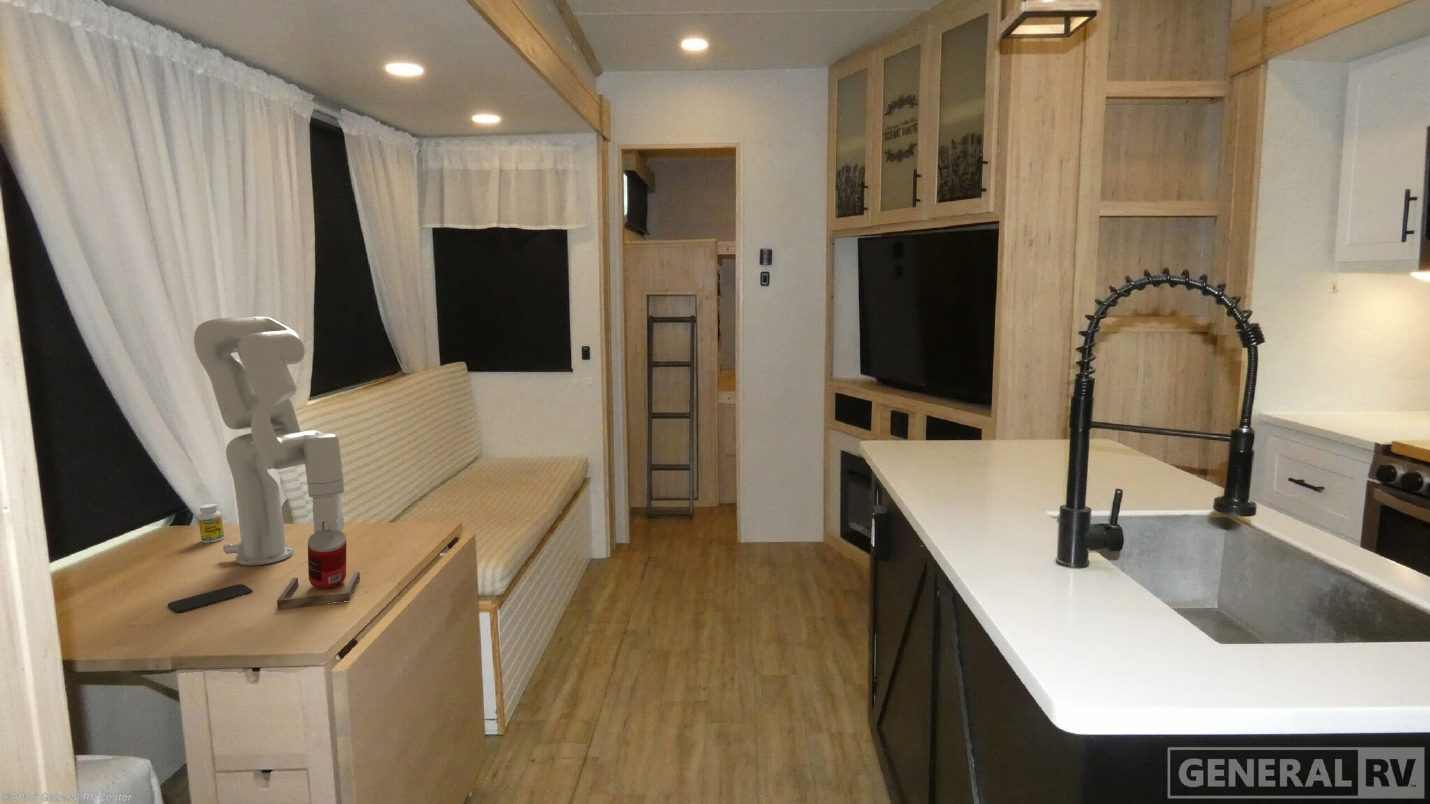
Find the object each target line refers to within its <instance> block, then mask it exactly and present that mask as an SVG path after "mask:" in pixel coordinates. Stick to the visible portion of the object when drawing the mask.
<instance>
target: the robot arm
mask: <svg viewBox="0 0 1430 804" xmlns="http://www.w3.org/2000/svg"><path fill="white" fill-rule="evenodd" d="M193 346H194V350H195V353H196V356H197V359H198V361H199V362H200V364H201V366H202V367H203V368H204V371H205V372H206V374H207V376H208V377H209V380H210V382H211V386H212V389H213V392H214V396H215V399H216V403H217V406H218V409H219V411H220V413H219V414H220V415H221V418H222V421H223V423H224V425H225V426H226V427H227V428H228V429H231V430H236V431H237V430H247V429H250V432H251V433H250V432H249V433H244V434H241V435H238V436H236V437H235V438H232V439H231V440H230V441H229V442H228V443H227V444H226V448H225V457H226V461H227V463H228V467H229V469H230V473H231V477H232V479H233V480H232V481H233V485H234V493H235V500H236V508H237V518H238V525H239V534H240V541H239V542H237V543H230V544H229V543H228V544H227V543H226V544H224V545H223V546H222V547H223V548H222V549H223V553H225V554H226V555H232V554H236V557H235V562H236V563H237V564H238V565H241V566H252V567H253V566H261V565H262V566H263V565H267V564H268V565H269V564H274V563H277V562H280V561H283V560H285V559H288V558H289V557H291V556H292V555H294V547H292V546H290V545H286V538H285V537H286V535H285V527H284V519H283V518H284V517H283V508H282V500H281V492H280V486H279V484H278V481H276V479H275V477H273V476H272V475H270V473H269V472H268V470H272V469H273V470H282V469H287V468H292V467H297V466H300V465H301V466H302V465H304V466H305V476H306V483H307V491H308V497H309V498H312V517H313V518H312V519H313V531H314V532H313V534H314V533H316V532H318V531H323V530H331V531H332V532H334V531H336V530H339V531H341V532H343V531H344V527H345V520H344V509H343V501H342V494H344V493H345V490H346V489H345V481H344V480H345V479H344V474H343V465H342V464H343V463H342V456H341V448H340V439H339V437H338V436H337V435H336V434H334V433H331V432H329V433H323V432H322V431H320V430H319V431H318V430H316V429H314V430H313V429H311V430H310V429H309V430H303V431H301V428H300V425H299V421H298V419H297V415H296V411H295V407H294V405H293V402H292V400H291V398H292V397H294V395H295V394H296V392H297V386H296V383H295V380H294V379H293V377H292V373H291V372H290V370H289V367H288V366H289V365H297V364H299V363H301V362H302V361H303V360H304V357H305V354H306V352H305V349H306V348H305V345H304V343H303V340H302V338H301V337H300V336H299V334H297V333H296V331H294V330H293V329H291V328H289V327H288V326H286V325H284V324H282V323H280V321H279V322H278V321H277V320H275V319H273V318H271V317H267V316H261V315H260V316H259V315H258V316H242V317H239V316H238V317H222V318H213V319H210V320H205V321H203V322H202V323H200V324H198V326H197V327H196V329H195V331H194V334H193ZM232 353H233V354H234V353H237V354H238V357H239V359H240V360H239V359H238V358H237V357H235V356H233V355H232Z"/></svg>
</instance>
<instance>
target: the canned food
mask: <svg viewBox="0 0 1430 804" xmlns="http://www.w3.org/2000/svg"><path fill="white" fill-rule="evenodd" d="M307 540H308V541H307V568H308V569H307V571H308V574H307V575H308V580H309V583H310V585H311V586H312V587H313V588H316V589H319V590H328V588H329V589H332V588H333V589H334V588H335V587H338V586H340V585H341V584H342V583H344V581H346V577H347V535H346V534H345V532H343V531H342V532H341V531H339V530H336V531H334V532H332V531H331V530H323V531H318V532H316V533H314V532H313V533H312V534H311V535H310V536H309V537H308V539H307Z"/></svg>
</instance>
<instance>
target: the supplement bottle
mask: <svg viewBox="0 0 1430 804" xmlns="http://www.w3.org/2000/svg"><path fill="white" fill-rule="evenodd" d="M218 509H219V508H218V504H217V503H207V504H202V505H201V506H199V512H200V514H198V517H197V520H198V527H199V534H200V535H199V536H200V539H201V542H202V543H203V544H209V543H210V542H211V543H217V542H219V541H222V540H223V539H225V532H224V524H223V516H222V515H223V514H222V513H221V512H220V511H218Z"/></svg>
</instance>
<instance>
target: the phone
mask: <svg viewBox="0 0 1430 804" xmlns="http://www.w3.org/2000/svg"><path fill="white" fill-rule="evenodd" d="M252 593H253V589H252V588H250V587H249V586H247V585H246V584H243V583H238V584H237V583H236V584H234V585H230V586H227V587H226V586H225V587H221V588H218V589H215V590H212V591H207V592H204V593H200V594H196V595H192V596H188V597H185V598H182V599H181V598H180V599H178V600H177V599H176V600H174V601H170V602H168V603H167V607H168V608H169V609H170V610H171V611H172V612H173V613H175V614H183V613H188V612H190V611H194V610H198V609H202V608H205V607H207V606H211V605H215V604H219V603H222V602H225V601H229V600H233V599H236V598H239V596H240V597H243V596H247V595H249V594H252ZM242 595H243V596H242ZM235 597H236V598H235Z"/></svg>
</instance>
